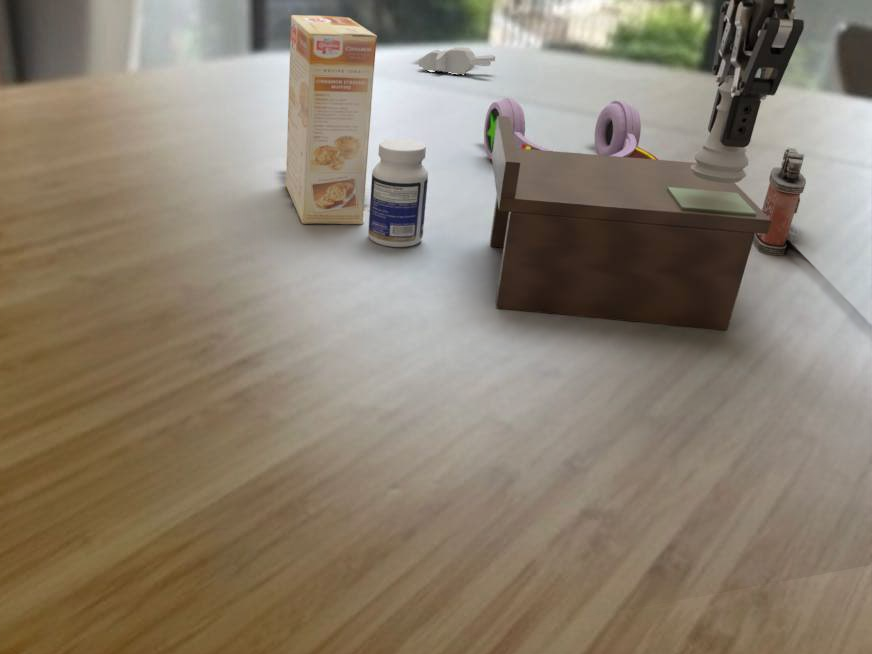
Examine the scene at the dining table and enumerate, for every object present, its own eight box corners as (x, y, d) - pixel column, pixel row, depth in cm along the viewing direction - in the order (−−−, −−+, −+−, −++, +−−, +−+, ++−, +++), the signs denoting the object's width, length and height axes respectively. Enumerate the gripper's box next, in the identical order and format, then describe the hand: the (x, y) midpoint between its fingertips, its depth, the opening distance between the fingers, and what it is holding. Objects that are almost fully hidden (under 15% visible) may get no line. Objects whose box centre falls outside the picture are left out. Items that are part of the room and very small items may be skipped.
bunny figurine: (425, 46, 192) (496, 44, 187) (426, 72, 194) (496, 70, 190) (415, 52, 184) (489, 50, 179) (415, 78, 186) (488, 77, 182)
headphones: (618, 98, 129) (692, 111, 111) (608, 169, 133) (678, 192, 114) (486, 96, 126) (539, 107, 107) (479, 168, 129) (530, 191, 111)
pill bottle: (386, 226, 98) (394, 134, 94) (431, 239, 96) (442, 144, 91) (357, 239, 94) (363, 143, 89) (403, 252, 91) (413, 154, 87)
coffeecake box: (365, 225, 99) (379, 34, 89) (300, 225, 97) (307, 32, 88) (341, 185, 111) (351, 15, 102) (284, 185, 110) (288, 13, 101)
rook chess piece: (756, 183, 75) (784, 83, 71) (711, 184, 74) (737, 83, 70) (722, 168, 79) (747, 72, 75) (678, 169, 78) (701, 72, 74)
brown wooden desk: (692, 259, 94) (724, 133, 88) (739, 331, 78) (783, 184, 72) (480, 240, 96) (497, 115, 90) (484, 307, 80) (505, 161, 74)
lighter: (788, 257, 97) (817, 163, 92) (754, 252, 97) (781, 159, 93) (781, 234, 103) (808, 146, 98) (749, 230, 104) (774, 142, 99)
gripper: (880, -92, 60) (801, 166, 68) (808, -93, 72) (749, 125, 81) (764, -99, 61) (700, 157, 69) (712, -99, 73) (663, 118, 81)
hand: (727, 139), depth 75 cm, fingers closed on rook chess piece, 3 cm apart
